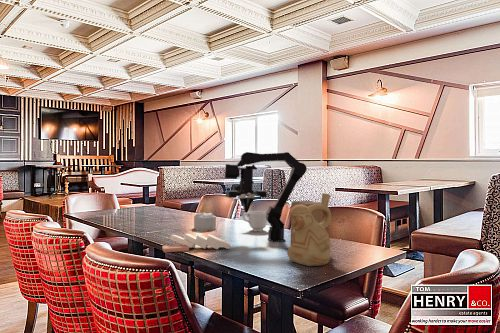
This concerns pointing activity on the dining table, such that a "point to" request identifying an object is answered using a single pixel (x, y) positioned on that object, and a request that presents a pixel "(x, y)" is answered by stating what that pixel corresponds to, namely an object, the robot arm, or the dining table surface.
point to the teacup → (256, 219)
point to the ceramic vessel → (310, 234)
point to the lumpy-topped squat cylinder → (204, 221)
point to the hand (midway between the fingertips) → (246, 212)
